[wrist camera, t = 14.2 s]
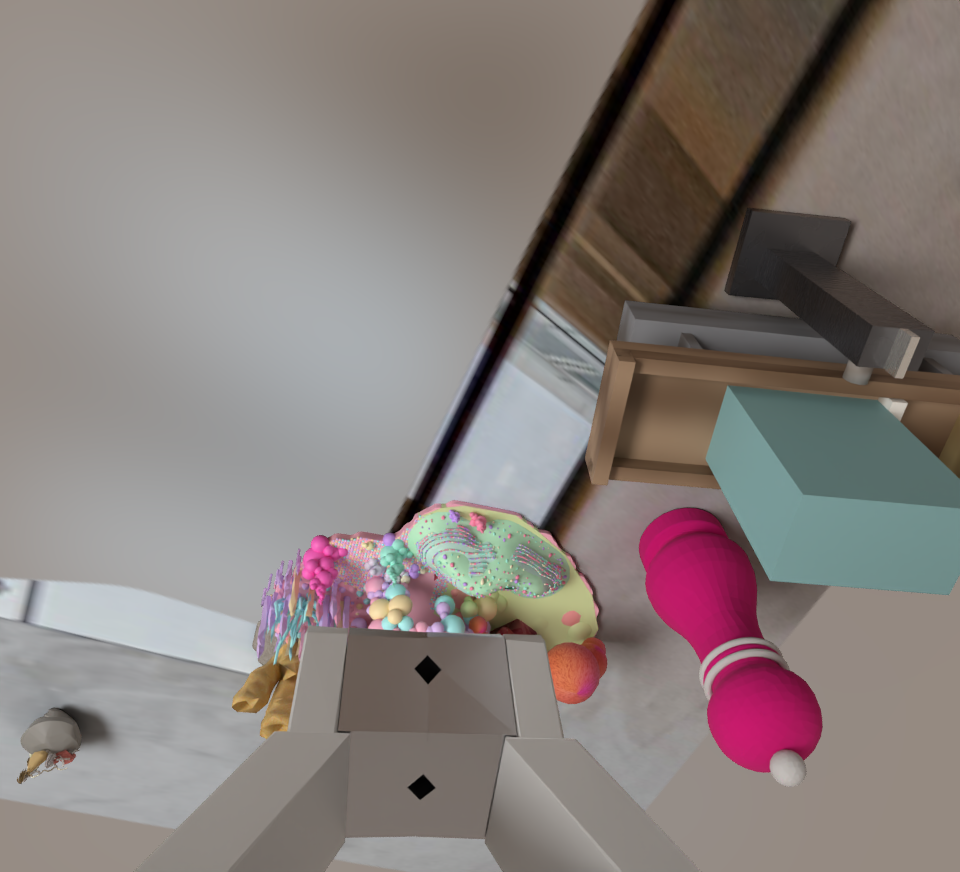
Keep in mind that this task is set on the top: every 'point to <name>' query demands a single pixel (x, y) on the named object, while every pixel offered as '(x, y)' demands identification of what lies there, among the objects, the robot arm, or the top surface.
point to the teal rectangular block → (836, 492)
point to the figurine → (50, 742)
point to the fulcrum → (823, 289)
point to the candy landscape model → (430, 597)
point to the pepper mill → (730, 644)
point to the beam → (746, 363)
